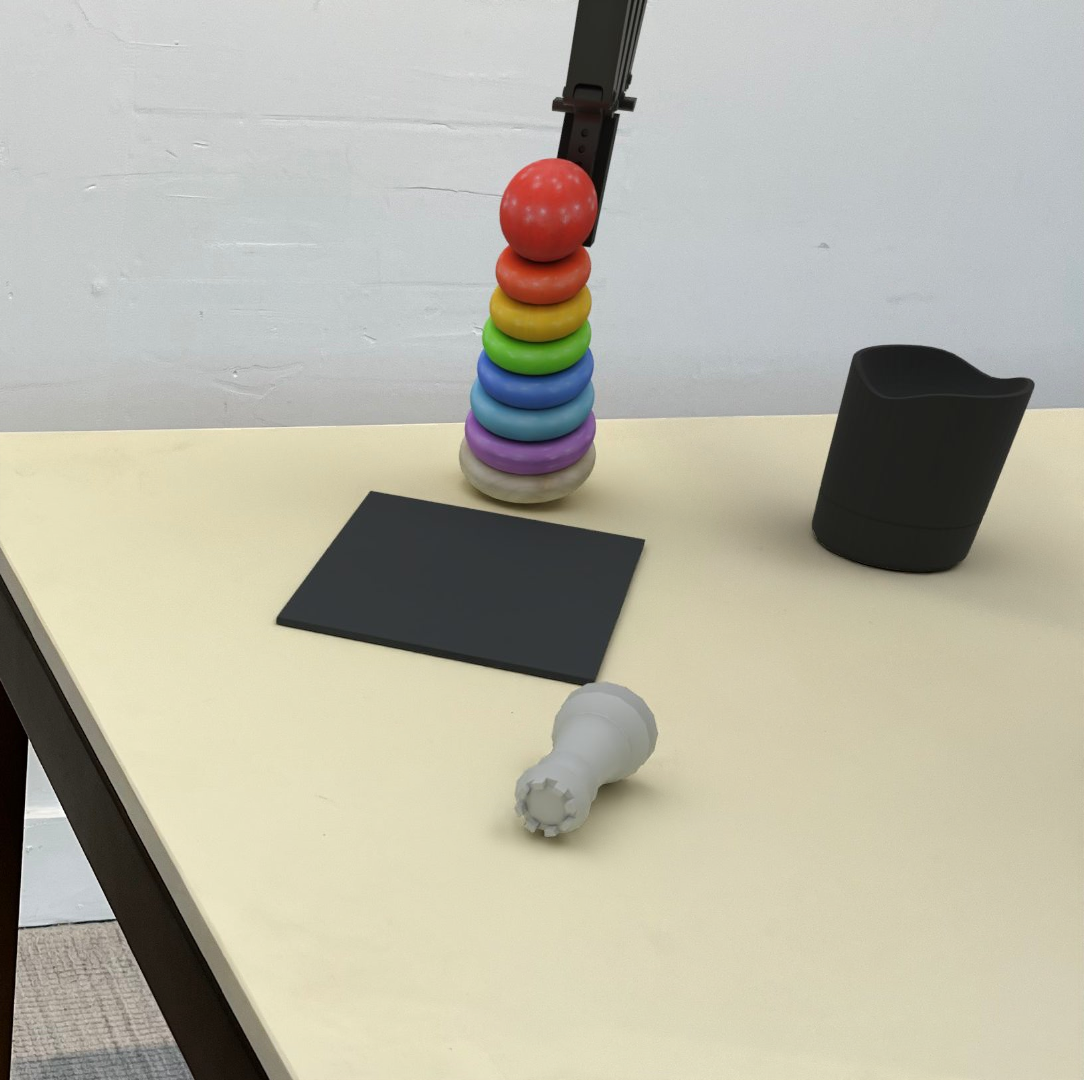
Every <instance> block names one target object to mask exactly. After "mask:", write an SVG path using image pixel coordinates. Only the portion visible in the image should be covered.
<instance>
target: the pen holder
mask: <svg viewBox="0 0 1084 1080" xmlns="http://www.w3.org/2000/svg"><path fill="white" fill-rule="evenodd" d="M1035 385H1036V383H1035V381H1034V380H1033V379H1031V378H1028V377H1023V376H1020V377H1019V376H1018V377H1008V378H1003V377H1002V378H1001V377H996V376H992V375H989V374H987V373H985V372H983V371H982V370H980V369H979V368H978V367H976V366H974V365H973V364H972V363H970V362H968V361H967V360H965V359H964V358H962V357H960V356H959V355H958V354H955V353H953V352H952V351H948V350H945V349H944V348H938V347H935V346H929V345H922V344H900V343H899V344H898V343H893V344H878V345H871V346H866V347H864V348H861V349H859V350H857V351H856V352H854V353H853V355H852V358H851V361H850V366H849V369H848V374H847V377H846V381H845V386H844V389H843V393H842V398H841V401H840V406H839V408H838V414H837V418H836V421H835V425H834V429H833V432H832V438H831V441H830V446H829V449H828V453H827V457H826V461H825V464H824V469H823V472H822V477H821V481H820V486H819V489H818V494H817V499H816V501H815V502H816V503H815V507H814V511H813V514H812V515H813V516H812V521H811V529H812V532H813V535H814V537H815V539H816V541H818V542H819V543H820V544H821V545H822V546H823V547H825V548H826V549H828V550H829V551H831V552H832V553H835V554H837V555H838V556H841V557H844V558H846V559H848V560H852V561H854V562H857V563H861V564H864V565H868V566H872V567H876V568H881V569H887V570H893V571H899V572H900V571H901V572H903V571H904V572H915V573H920V572H921V573H925V572H938V571H944V570H947V569H951V568H953V567H955V566H956V565H958V564H960V563H961V562H962V561H964V560H965V558H967V556H968V554H969V552H970V551H971V548H972V546H973V543H974V542H975V538H976V536H977V534H978V532H979V529H980V527H981V524H982V521H983V519H984V516H985V515H986V512H987V510H988V508H989V505H990V503H991V499H992V497H993V494H994V492H995V489H996V487H997V484H998V482H999V479H1000V476H1001V475H1002V471H1003V469H1004V466H1005V464H1006V461H1007V459H1008V456H1009V454H1010V451H1011V450H1012V449H1011V448H1012V447H1013V443H1014V441H1015V438H1016V436H1017V433H1018V430H1019V428H1020V426H1021V423H1022V420H1023V418H1024V416H1025V413H1026V410H1027V408H1028V405H1029V403H1030V400H1031V398H1032V394H1033V392H1034V389H1035Z"/></svg>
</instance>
